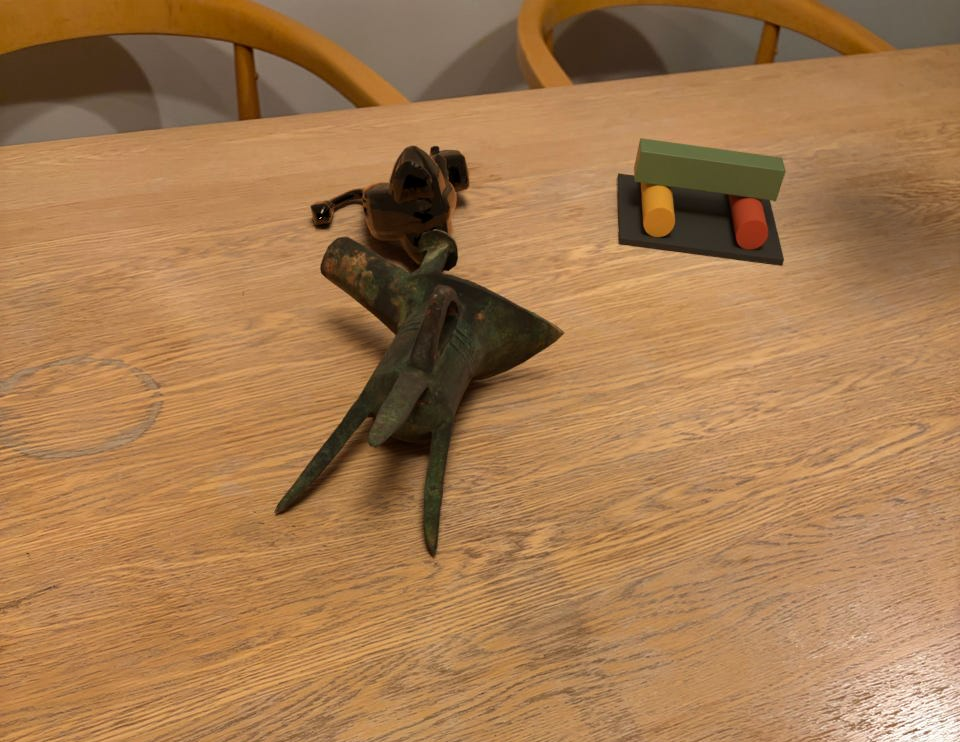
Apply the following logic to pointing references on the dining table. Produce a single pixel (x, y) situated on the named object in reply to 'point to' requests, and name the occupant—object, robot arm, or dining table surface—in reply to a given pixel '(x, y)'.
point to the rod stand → (697, 222)
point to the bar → (708, 169)
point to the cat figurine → (408, 197)
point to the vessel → (424, 353)
